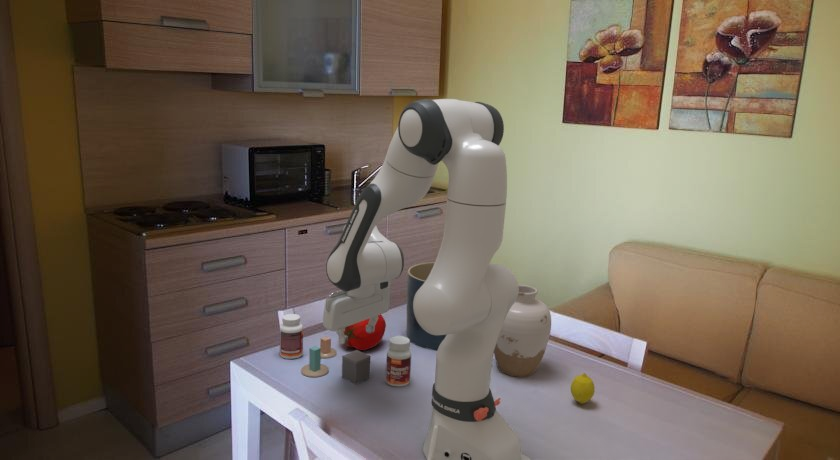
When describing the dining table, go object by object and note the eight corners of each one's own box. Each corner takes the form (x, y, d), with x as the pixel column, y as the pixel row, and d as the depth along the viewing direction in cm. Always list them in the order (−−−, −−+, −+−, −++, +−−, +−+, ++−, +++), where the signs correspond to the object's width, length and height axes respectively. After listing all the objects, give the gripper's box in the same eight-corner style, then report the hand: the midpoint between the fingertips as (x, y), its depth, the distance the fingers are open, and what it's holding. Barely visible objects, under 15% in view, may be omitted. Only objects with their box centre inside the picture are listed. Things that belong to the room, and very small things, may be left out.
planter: (440, 358, 168) (444, 289, 164) (389, 333, 184) (392, 269, 179) (493, 339, 183) (498, 275, 178) (441, 317, 199) (445, 258, 194)
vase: (483, 377, 158) (489, 294, 153) (491, 353, 173) (497, 276, 168) (545, 387, 155) (553, 302, 149) (547, 361, 170) (555, 283, 164)
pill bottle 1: (306, 356, 165) (306, 318, 163) (284, 361, 162) (284, 322, 159) (297, 348, 170) (297, 311, 168) (276, 352, 167) (276, 315, 164)
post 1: (334, 371, 158) (334, 348, 156) (313, 380, 152) (313, 356, 151) (316, 362, 162) (316, 340, 160) (295, 371, 157) (295, 348, 155)
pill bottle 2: (389, 388, 150) (390, 346, 147) (383, 377, 156) (384, 336, 153) (412, 386, 152) (415, 344, 149) (406, 374, 158) (408, 334, 155)
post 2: (341, 353, 168) (341, 338, 167) (324, 360, 164) (324, 344, 162) (326, 347, 172) (326, 332, 171) (309, 353, 167) (310, 338, 166)
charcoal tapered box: (369, 377, 155) (370, 355, 154) (355, 384, 151) (356, 362, 150) (356, 371, 158) (356, 349, 157) (341, 377, 154) (342, 355, 153)
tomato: (371, 346, 181) (341, 362, 171) (353, 307, 182) (323, 321, 172) (400, 333, 174) (371, 349, 163) (381, 293, 175) (352, 306, 164)
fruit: (564, 402, 148) (567, 371, 146) (578, 395, 151) (581, 365, 149) (583, 411, 143) (587, 380, 142) (597, 404, 147) (601, 374, 145)
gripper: (335, 297, 139) (334, 353, 142) (395, 279, 155) (393, 329, 158) (317, 291, 143) (316, 345, 146) (377, 273, 159) (375, 323, 162)
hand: (356, 337), depth 152 cm, fingers open, 8 cm apart
